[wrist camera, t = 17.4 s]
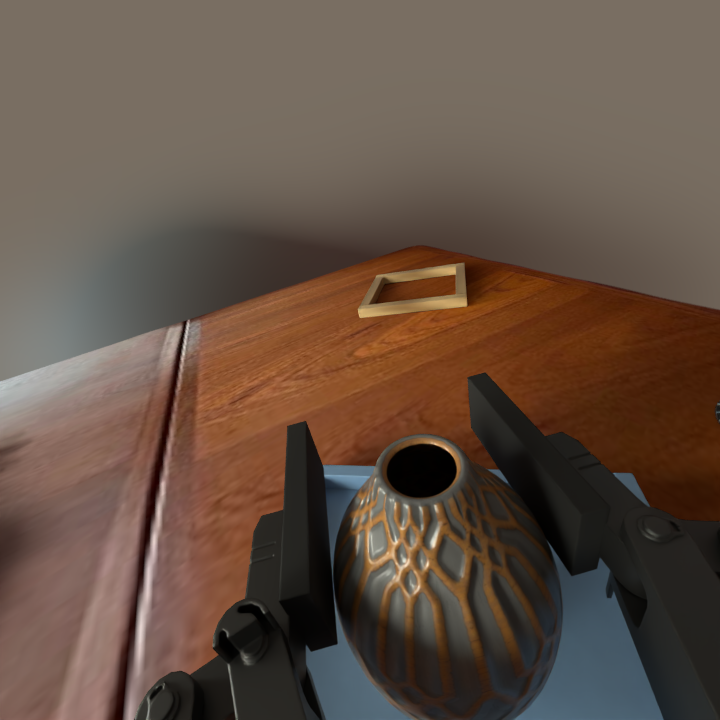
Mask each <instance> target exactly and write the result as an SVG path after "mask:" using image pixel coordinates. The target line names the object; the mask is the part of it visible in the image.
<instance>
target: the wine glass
mask: <svg viewBox="0 0 720 720" xmlns="http://www.w3.org/2000/svg"><path fill="white" fill-rule="evenodd" d="M715 415H716V419H717V420H718V422H719V424H720V400H719V402H718V403H717V405H716V407H715Z"/></svg>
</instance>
